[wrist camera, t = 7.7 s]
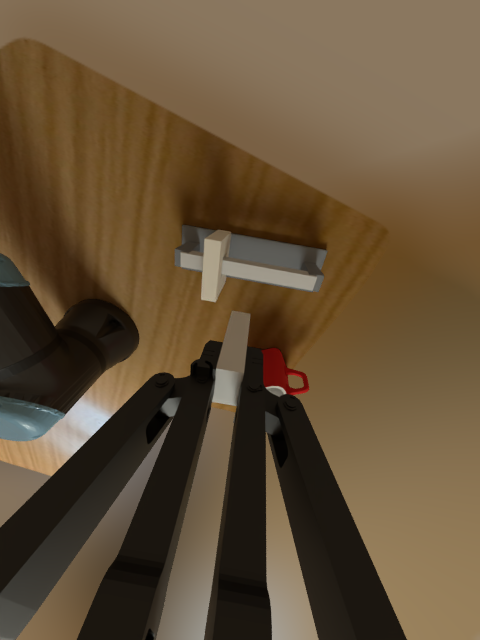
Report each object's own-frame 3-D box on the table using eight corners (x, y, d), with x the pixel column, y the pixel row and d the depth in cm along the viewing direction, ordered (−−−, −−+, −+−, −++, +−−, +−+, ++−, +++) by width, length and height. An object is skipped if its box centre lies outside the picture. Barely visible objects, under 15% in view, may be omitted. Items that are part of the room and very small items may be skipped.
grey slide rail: (183, 267, 37) (167, 280, 31) (183, 224, 34) (165, 230, 27) (312, 290, 37) (320, 309, 31) (326, 249, 33) (339, 261, 27)
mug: (254, 379, 49) (251, 421, 40) (242, 353, 46) (236, 392, 36) (306, 370, 46) (316, 413, 37) (298, 340, 42) (306, 380, 33)
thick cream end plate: (214, 279, 36) (201, 299, 29) (218, 229, 31) (204, 238, 25) (225, 281, 36) (215, 302, 29) (231, 231, 31) (221, 241, 25)
